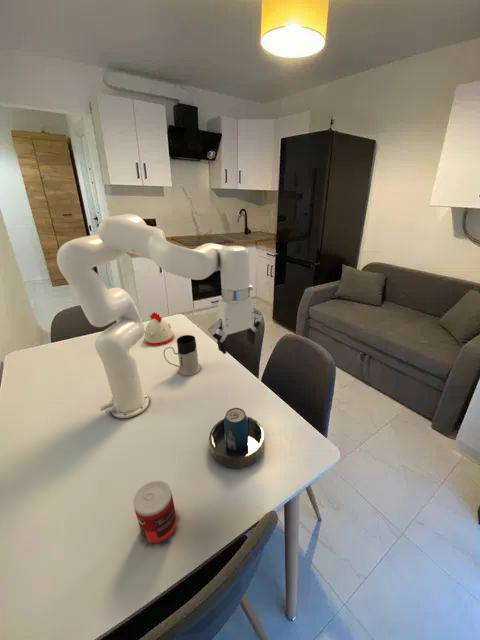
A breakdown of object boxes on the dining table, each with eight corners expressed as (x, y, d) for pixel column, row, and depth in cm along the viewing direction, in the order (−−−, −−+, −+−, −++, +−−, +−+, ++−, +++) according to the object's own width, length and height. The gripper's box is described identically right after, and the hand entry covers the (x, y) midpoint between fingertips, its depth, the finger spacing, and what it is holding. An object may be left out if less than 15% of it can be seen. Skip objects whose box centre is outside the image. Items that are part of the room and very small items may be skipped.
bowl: (227, 480, 79) (226, 468, 77) (201, 441, 91) (200, 430, 89) (274, 450, 88) (274, 439, 86) (245, 418, 100) (244, 408, 98)
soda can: (246, 434, 93) (245, 405, 88) (249, 452, 86) (248, 421, 81) (225, 437, 92) (222, 407, 87) (226, 455, 85) (224, 425, 80)
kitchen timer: (157, 348, 142) (152, 321, 136) (139, 341, 149) (134, 314, 143) (178, 337, 153) (175, 311, 146) (161, 330, 160) (157, 305, 153)
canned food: (147, 511, 71) (139, 481, 67) (180, 508, 72) (174, 478, 67) (137, 546, 64) (127, 515, 60) (174, 543, 65) (167, 512, 60)
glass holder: (203, 370, 125) (200, 340, 119) (170, 382, 118) (165, 350, 111) (195, 361, 132) (191, 332, 125) (164, 372, 124) (158, 341, 118)
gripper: (254, 283, 86) (254, 334, 93) (200, 294, 77) (205, 350, 84) (269, 290, 81) (268, 344, 88) (212, 303, 72) (216, 361, 79)
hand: (237, 346), depth 86 cm, fingers open, 9 cm apart
